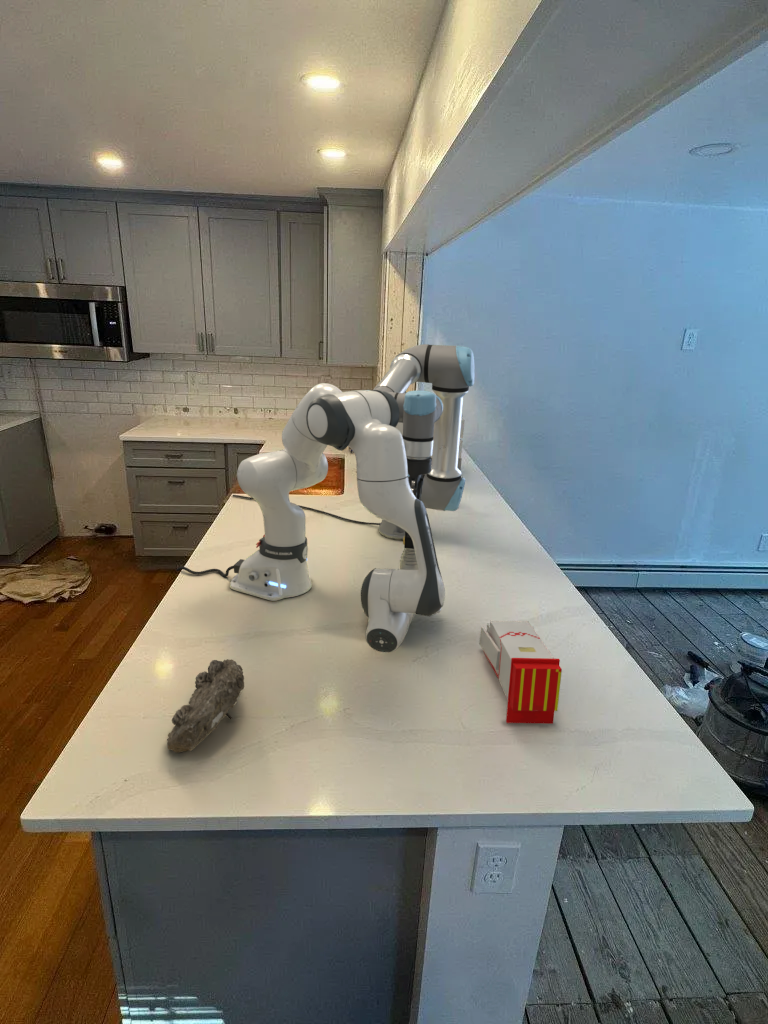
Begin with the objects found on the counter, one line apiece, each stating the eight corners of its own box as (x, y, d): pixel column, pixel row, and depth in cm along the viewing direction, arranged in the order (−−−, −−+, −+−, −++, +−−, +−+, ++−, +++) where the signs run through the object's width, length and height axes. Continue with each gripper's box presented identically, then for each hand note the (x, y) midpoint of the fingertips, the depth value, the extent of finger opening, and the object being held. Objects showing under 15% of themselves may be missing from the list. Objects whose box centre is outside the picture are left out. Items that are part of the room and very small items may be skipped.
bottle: (414, 611, 149) (419, 544, 143) (395, 608, 150) (399, 542, 144) (418, 602, 154) (422, 537, 147) (399, 599, 155) (403, 534, 148)
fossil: (192, 660, 117) (244, 628, 112) (224, 691, 120) (276, 661, 115) (142, 746, 98) (202, 712, 93) (182, 779, 101) (242, 748, 96)
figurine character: (360, 456, 306) (360, 446, 319) (360, 443, 303) (361, 433, 316) (347, 455, 306) (348, 446, 319) (348, 442, 302) (349, 433, 316)
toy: (526, 605, 135) (570, 665, 105) (521, 658, 137) (563, 730, 108) (475, 604, 134) (506, 664, 105) (472, 657, 137) (500, 729, 108)
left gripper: (440, 602, 135) (448, 577, 147) (358, 589, 139) (372, 566, 152) (438, 625, 137) (446, 599, 150) (357, 612, 141) (372, 587, 154)
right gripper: (406, 447, 147) (401, 531, 155) (395, 463, 131) (391, 555, 139) (435, 449, 145) (428, 533, 153) (428, 466, 130) (421, 559, 138)
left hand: (408, 582), depth 151 cm, fingers closed on bottle, 5 cm apart
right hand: (410, 544), depth 146 cm, fingers closed on cap, 4 cm apart
